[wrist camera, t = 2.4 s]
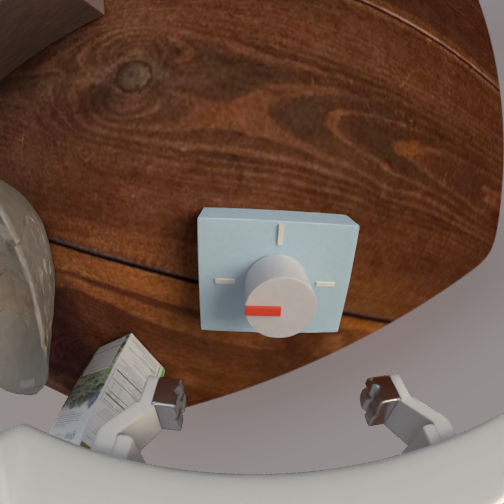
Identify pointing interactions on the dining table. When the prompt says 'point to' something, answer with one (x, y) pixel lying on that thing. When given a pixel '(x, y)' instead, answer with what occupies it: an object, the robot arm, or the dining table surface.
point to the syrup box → (105, 389)
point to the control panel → (270, 243)
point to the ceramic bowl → (24, 295)
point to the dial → (278, 297)
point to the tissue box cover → (39, 26)
